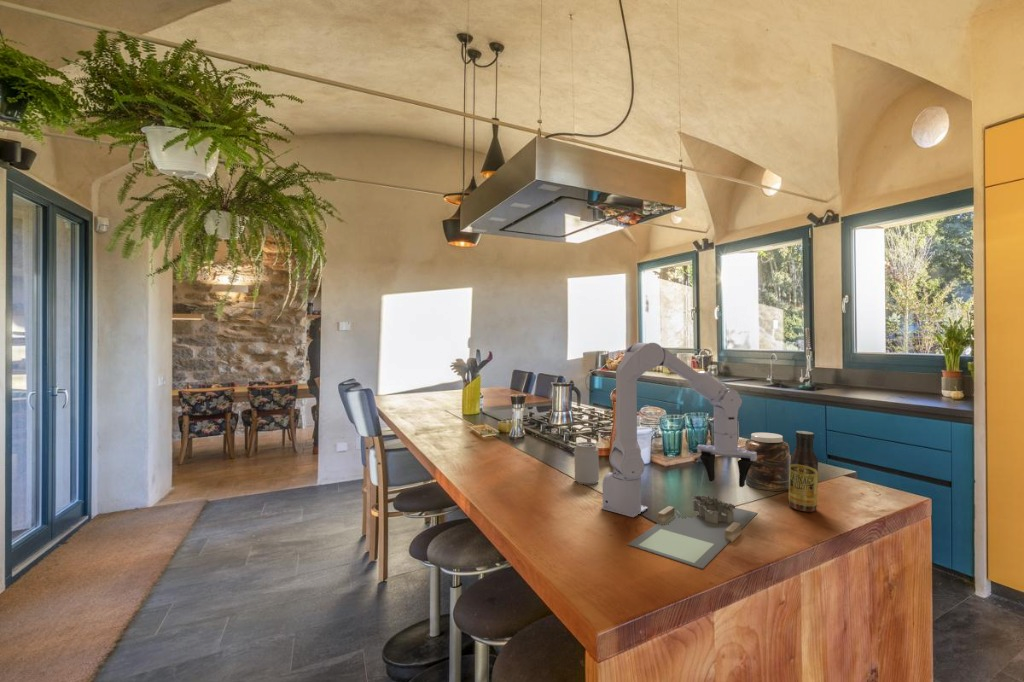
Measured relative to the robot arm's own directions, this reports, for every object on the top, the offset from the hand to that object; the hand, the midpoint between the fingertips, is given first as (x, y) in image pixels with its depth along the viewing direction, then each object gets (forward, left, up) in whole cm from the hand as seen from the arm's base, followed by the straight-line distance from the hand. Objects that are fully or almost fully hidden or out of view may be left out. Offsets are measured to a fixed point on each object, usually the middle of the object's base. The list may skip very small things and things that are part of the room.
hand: (726, 483), depth 122 cm
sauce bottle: (+16, +9, -6) cm, 19 cm away
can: (-39, -8, -6) cm, 40 cm away
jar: (+4, +24, -6) cm, 25 cm away
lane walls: (0, -20, -6) cm, 21 cm away
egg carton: (0, -11, -6) cm, 12 cm away
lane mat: (0, -21, -6) cm, 21 cm away
